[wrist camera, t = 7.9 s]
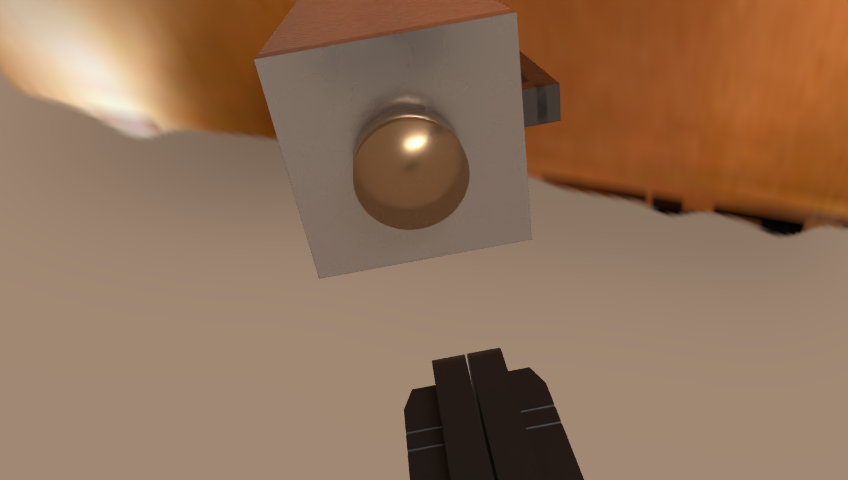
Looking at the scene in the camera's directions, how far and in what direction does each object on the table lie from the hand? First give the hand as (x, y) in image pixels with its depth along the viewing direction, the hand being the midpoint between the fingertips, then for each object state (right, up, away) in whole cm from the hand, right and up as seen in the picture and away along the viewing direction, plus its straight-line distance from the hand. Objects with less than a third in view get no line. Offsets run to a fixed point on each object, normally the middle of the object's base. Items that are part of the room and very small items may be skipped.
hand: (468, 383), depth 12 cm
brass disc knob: (-4, +16, +29) cm, 34 cm away
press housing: (-2, +17, +31) cm, 35 cm away
